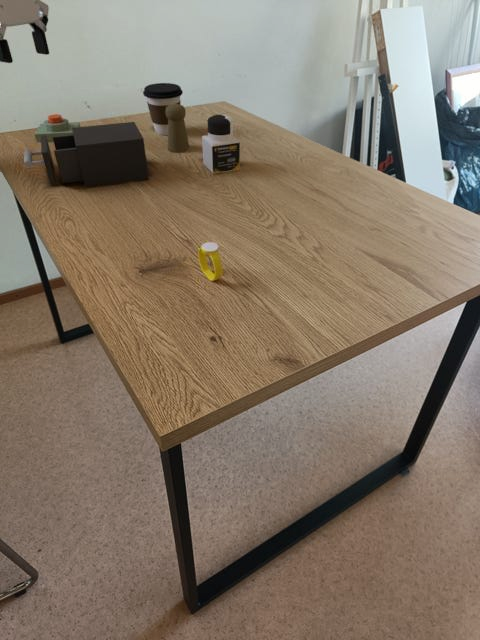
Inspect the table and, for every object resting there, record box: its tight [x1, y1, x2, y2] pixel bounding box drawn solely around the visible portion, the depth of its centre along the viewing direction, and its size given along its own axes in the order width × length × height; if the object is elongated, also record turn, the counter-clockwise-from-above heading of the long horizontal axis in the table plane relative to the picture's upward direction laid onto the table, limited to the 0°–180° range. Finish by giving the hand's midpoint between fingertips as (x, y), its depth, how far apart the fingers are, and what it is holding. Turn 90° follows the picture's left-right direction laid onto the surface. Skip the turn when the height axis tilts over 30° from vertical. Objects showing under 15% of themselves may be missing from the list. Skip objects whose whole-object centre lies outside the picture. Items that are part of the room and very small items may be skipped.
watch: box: [197, 241, 223, 282], centre depth 75 cm, size 6×3×6 cm, turn 32°
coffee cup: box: [142, 82, 183, 136], centre depth 129 cm, size 11×11×12 cm
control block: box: [34, 117, 81, 143], centre depth 128 cm, size 11×9×4 cm
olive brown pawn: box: [165, 103, 190, 153], centre depth 119 cm, size 6×6×11 cm
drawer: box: [23, 134, 84, 187], centre depth 104 cm, size 18×11×8 cm, turn 109°
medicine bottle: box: [201, 114, 241, 175], centre depth 109 cm, size 7×7×12 cm
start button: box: [47, 113, 63, 124], centre depth 127 cm, size 4×4×2 cm
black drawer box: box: [72, 121, 150, 189], centre depth 106 cm, size 15×13×10 cm
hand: (25, 57), depth 93 cm, fingers open, 9 cm apart
